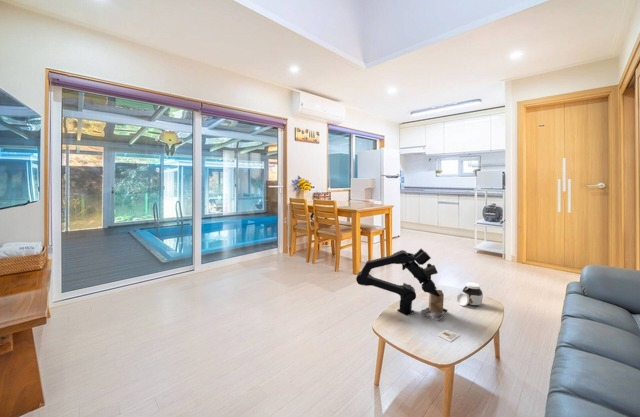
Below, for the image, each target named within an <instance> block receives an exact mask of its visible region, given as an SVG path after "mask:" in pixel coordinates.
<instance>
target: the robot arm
mask: <svg viewBox="0 0 640 417" xmlns="http://www.w3.org/2000/svg"><path fill="white" fill-rule="evenodd" d="M431 259H432V258H431V256H430V255H429V253H427V251H425V250H424V249H423V248H420V249H418V251H416V253H411V252H407V251H406V250H403V249H401V250H398V251H396V252H394V253H393V254H391V255H389V256H388V255H387V256H384V257H383V256H382V257H381V258H376V259H371V260H367V261H366V262H365V265H364V266H363V267H362V270H361V271H359V272H358V273H357V276H356V280H355V281H356V283H357V285H360V286H364V287H368V286H371V287H376V288H379V289H381V290H385V291H387V292H391V293H394V294H396V295H399V297H400V299H399V308H398V309H397V312H398V313H400V314H402V315H405V316H409V315H412V314H413V313H415V311H414V310H412V308H413V307H412V306H413V301H415V299H416V298H417V292H416V290H415V288H414V287H413V286H412V284H407V283H405V282H403V283H402V285H401V284H400V285H399V284H396V283H393V282H389V281H386V280H383V279H380V278H377V277H374V276H373V275H371V274H370V273H371V271H372V269H373V270H374V269H376V268H380V267H381V268H382V267H385V266H388V265H401V266H402V267H401V268H402V271H405V270H408V271H409V273H411V274H412V276H413V278H414V279H416V280H418V282H419V284H421V290H422V291H423V292H424V293H428V294H429V293H430V294H433V295H435V296H438V297H439V296H440V295H439V293H438V292H437V290H438V289H437V288H438V287H437V286H436V284H435V282H434V281H433V280H432V276H433V275H437V274H438V273H439V272H438V270H437V268H436V266H435V264H431V263H427V262H428V261H430V260H431ZM426 263H427V264H426ZM425 264H426V267H425V268H424V267H422V266H423V265H425ZM420 265H421V266H420Z"/></svg>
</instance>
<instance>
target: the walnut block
mask: <svg viewBox="0 0 640 417" xmlns="http://www.w3.org/2000/svg"><path fill="white" fill-rule="evenodd" d="M436 290H437V292H438V293H439V295H440V296H439V297H438V296H435V295H433V294H430V293H428V294H429V296H428V297H429V298H428V307H429V309H430V311H429V312H430V313H436V314H443V313H444V312H443V308H444V301H445V300H444V298H445V297H444V296H445V295H444V292H443V290H441V289H436Z"/></svg>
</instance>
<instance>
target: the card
mask: <svg viewBox="0 0 640 417" xmlns="http://www.w3.org/2000/svg"><path fill="white" fill-rule="evenodd" d="M437 337H439V338H441V339H444V340H445V341H448V342H450V343H452V342H453V341H455V340H456V339H458V337H460V334H457V333H455V332H453V331H451V330H449V329H446V330H444V331H442V332H441V333H439V334H438V335H437Z"/></svg>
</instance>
